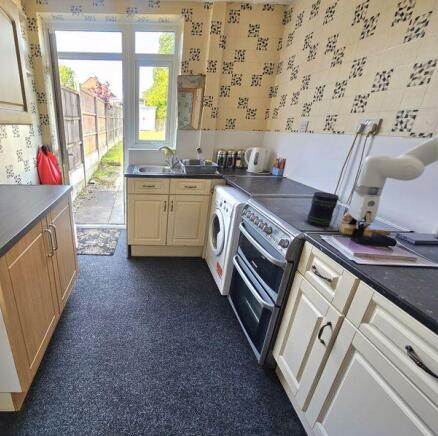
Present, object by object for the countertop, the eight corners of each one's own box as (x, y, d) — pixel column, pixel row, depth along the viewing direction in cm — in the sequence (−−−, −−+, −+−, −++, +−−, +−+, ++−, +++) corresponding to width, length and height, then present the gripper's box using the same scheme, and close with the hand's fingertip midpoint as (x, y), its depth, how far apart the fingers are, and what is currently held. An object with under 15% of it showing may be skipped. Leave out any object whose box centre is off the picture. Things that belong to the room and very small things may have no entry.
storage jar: (302, 219, 126) (309, 191, 121) (322, 220, 126) (331, 192, 120) (312, 227, 117) (321, 197, 112) (334, 228, 116) (344, 198, 111)
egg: (349, 225, 121) (354, 211, 118) (354, 229, 116) (359, 215, 113) (336, 223, 122) (340, 210, 120) (340, 227, 117) (345, 214, 115)
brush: (384, 237, 96) (387, 228, 94) (391, 242, 92) (394, 232, 90) (337, 232, 100) (340, 223, 99) (341, 236, 96) (344, 227, 95)
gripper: (394, 196, 82) (376, 245, 88) (369, 185, 97) (355, 228, 103) (367, 195, 84) (351, 242, 90) (346, 184, 99) (334, 226, 105)
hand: (353, 234), depth 97 cm, fingers closed on brush, 4 cm apart
